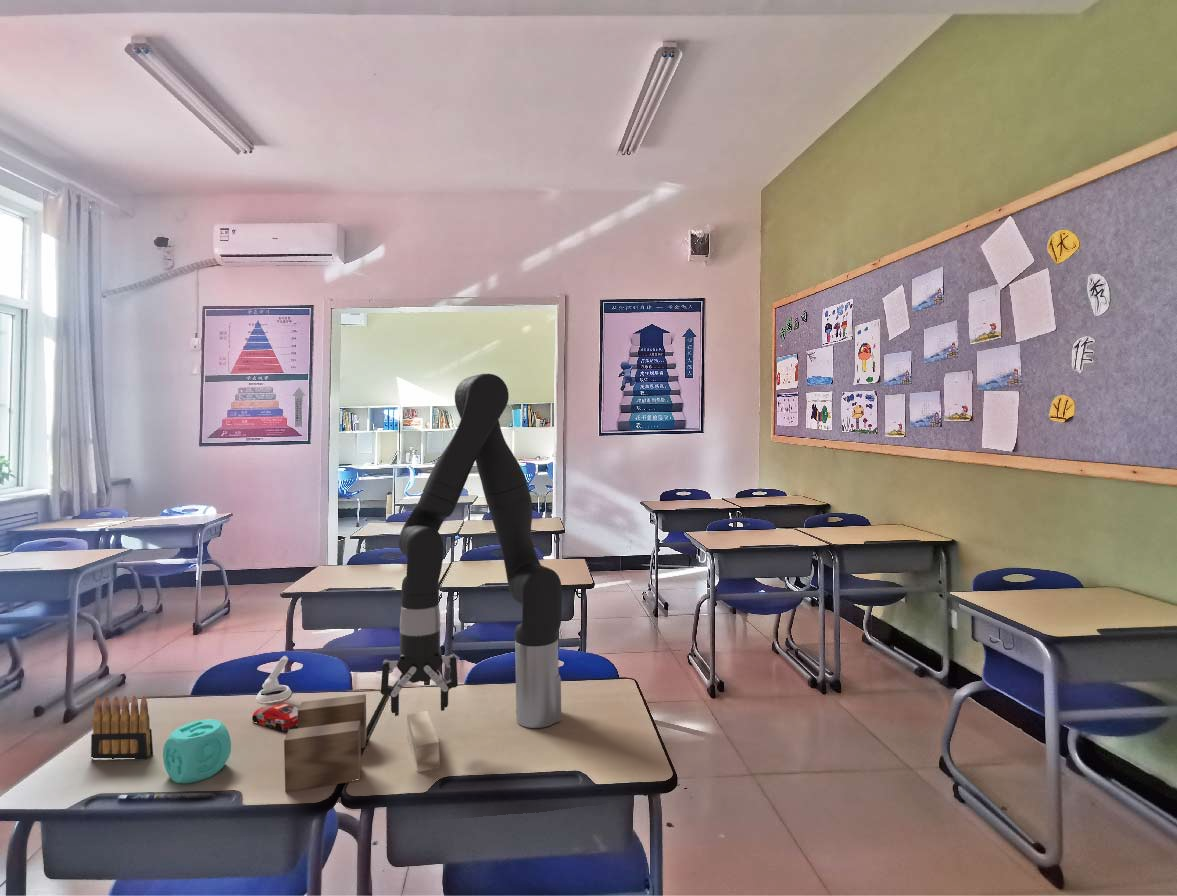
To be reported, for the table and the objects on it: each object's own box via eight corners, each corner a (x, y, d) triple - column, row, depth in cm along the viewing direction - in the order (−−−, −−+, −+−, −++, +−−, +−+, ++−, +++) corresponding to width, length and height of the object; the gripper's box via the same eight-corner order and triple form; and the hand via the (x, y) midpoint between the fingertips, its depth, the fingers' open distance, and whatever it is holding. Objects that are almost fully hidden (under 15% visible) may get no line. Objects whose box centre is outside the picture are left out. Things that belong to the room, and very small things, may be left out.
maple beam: (427, 734, 125) (427, 710, 125) (439, 768, 112) (439, 741, 112) (407, 739, 123) (407, 714, 123) (417, 773, 110) (416, 746, 110)
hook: (301, 681, 140) (273, 667, 138) (275, 720, 141) (247, 706, 140) (312, 663, 147) (286, 649, 146) (287, 700, 149) (260, 687, 147)
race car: (247, 722, 132) (247, 704, 132) (271, 712, 136) (270, 695, 136) (286, 736, 125) (285, 716, 125) (309, 725, 130) (308, 706, 130)
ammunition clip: (90, 760, 116) (88, 698, 116) (98, 755, 118) (96, 694, 118) (146, 759, 116) (145, 697, 116) (153, 754, 118) (152, 693, 118)
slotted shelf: (366, 738, 123) (365, 694, 123) (359, 780, 108) (358, 730, 108) (302, 746, 120) (301, 701, 120) (285, 791, 105) (284, 740, 104)
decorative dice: (208, 756, 117) (207, 715, 117) (232, 767, 113) (231, 724, 113) (162, 776, 110) (161, 732, 110) (186, 788, 106) (184, 743, 106)
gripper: (456, 620, 123) (456, 700, 123) (382, 625, 119) (382, 707, 119) (458, 631, 115) (458, 715, 115) (380, 636, 112) (379, 724, 112)
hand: (419, 711), depth 117 cm, fingers open, 8 cm apart
